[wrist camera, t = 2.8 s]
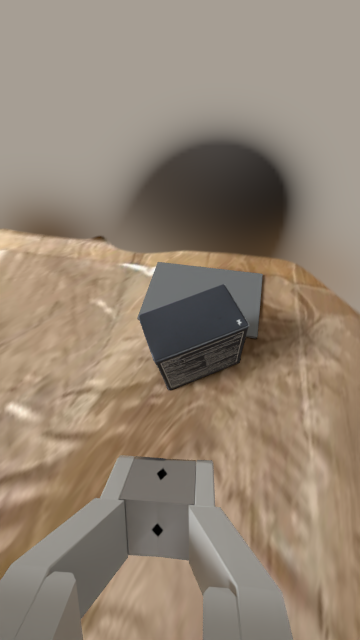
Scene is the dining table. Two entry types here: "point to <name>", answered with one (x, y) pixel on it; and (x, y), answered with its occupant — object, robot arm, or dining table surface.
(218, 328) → the small box
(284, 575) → the dining table surface
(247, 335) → the slate tile
